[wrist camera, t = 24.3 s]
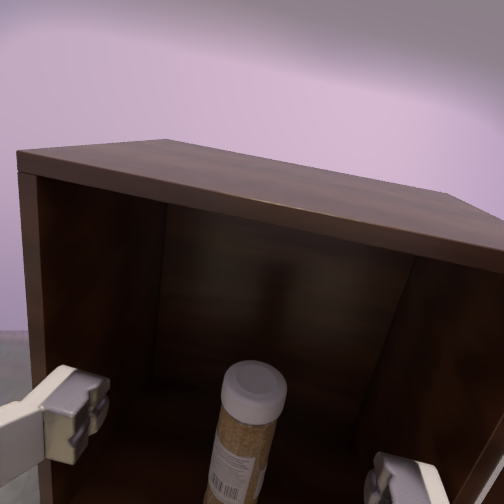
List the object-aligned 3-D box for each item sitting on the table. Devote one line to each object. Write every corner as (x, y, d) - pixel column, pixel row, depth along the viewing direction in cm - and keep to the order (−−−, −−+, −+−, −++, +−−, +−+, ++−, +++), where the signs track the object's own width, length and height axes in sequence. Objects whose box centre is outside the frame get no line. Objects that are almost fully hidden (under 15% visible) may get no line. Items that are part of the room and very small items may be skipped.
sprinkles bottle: (266, 512, 29) (301, 386, 24) (223, 549, 26) (254, 414, 21) (233, 469, 32) (258, 350, 27) (190, 498, 29) (211, 370, 24)
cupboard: (392, 641, 24) (613, 272, 14) (42, 532, 26) (15, 149, 16) (358, 429, 41) (447, 193, 31) (147, 374, 43) (165, 138, 33)
